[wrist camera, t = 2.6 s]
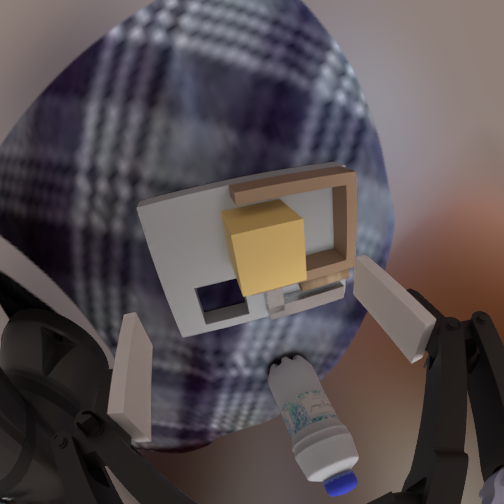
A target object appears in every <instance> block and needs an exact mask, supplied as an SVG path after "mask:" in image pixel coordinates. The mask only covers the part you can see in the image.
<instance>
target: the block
mask: <svg viewBox="0 0 504 504" xmlns="http://www.w3.org/2000/svg"><path fill="white" fill-rule="evenodd" d="M221 216H222V221H223V226H224V231H225V236H226V241H227V246H228V251H229V256H230V260H231V265H232V268H233V270H234V273H235V276H236V279H237V281H238V284H239V287H240V290H241V292H242V295H243V297H245V296H249V295H253V294H257V293H260V292H264V291H268V290H272V289H275V288H279V287H283V286H286V285H290V284H293V283H297V282H301V281H304V280H307V273H306V254H305V237H304V223H303V218H302V217H300V216H299V215H298V214H297V213H296V212H295V211H293V210H292V209H291V208H290V207H289V206H287V205H286V204H285V203H284V202H283V201H281V200H280V199H277V200H272V201H267V202H262V203H257V204H253V205H248V206H243V207H239V208H234V209H230V210H225V211H221Z"/></svg>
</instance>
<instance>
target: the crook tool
mask: <svg viewBox="0 0 504 504" xmlns="http://www.w3.org/2000/svg"><path fill="white" fill-rule="evenodd" d="M264 297H265V303H266V310H267V313H268V315H269V317H270V319H271V320H273V319H277V318H280V317H284V316H287V315H291V314H294V313H297V312H301V311H304V310H307V309H310V308H314V307H317V306H320V305H323V304H326V303H329V302H332V301H335V300H338V299H341V298H344V285H343V284H342V283H341V282H340V281H337V282H333V283H330V284H327V285H324V286H320V287H317V288H314V289H310V290H307V291H303V292H302V291H301V290H298V291H294V292H291V293H287V294H283V288H279V289H276V290H272V291H268V292H265V293H264Z"/></svg>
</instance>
